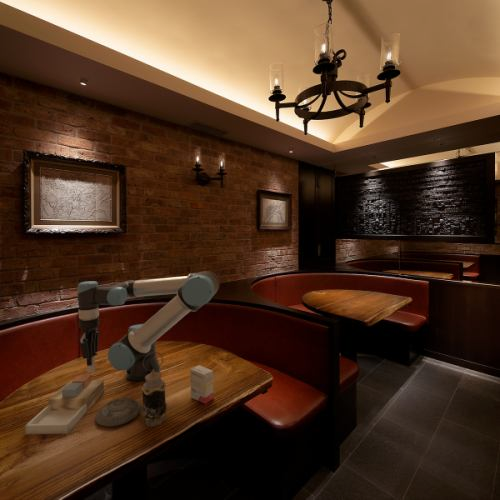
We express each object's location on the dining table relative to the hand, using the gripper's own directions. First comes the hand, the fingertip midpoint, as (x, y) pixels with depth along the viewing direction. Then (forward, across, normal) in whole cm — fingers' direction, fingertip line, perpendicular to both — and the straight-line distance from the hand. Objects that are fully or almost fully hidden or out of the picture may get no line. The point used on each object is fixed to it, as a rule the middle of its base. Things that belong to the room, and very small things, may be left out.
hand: (91, 371), depth 123 cm
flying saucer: (+7, +20, +20) cm, 29 cm away
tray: (+7, +23, 0) cm, 24 cm away
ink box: (+7, +10, +49) cm, 51 cm away
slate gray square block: (+2, +14, 0) cm, 14 cm away
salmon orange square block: (+2, +8, 0) cm, 8 cm away
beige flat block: (+7, +10, 0) cm, 13 cm away
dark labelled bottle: (+7, +22, +34) cm, 42 cm away
